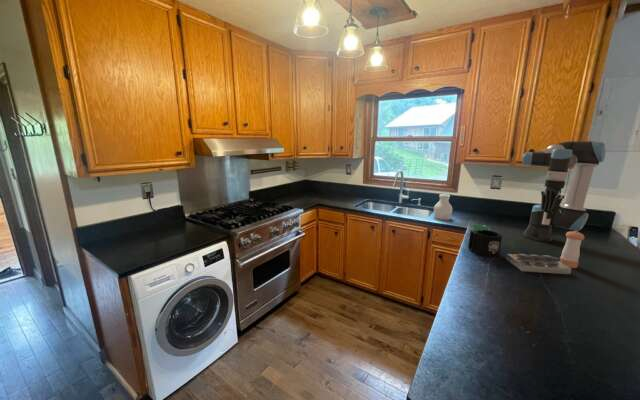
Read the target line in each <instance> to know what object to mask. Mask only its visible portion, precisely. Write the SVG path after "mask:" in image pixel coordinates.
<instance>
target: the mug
mask: <svg viewBox="0 0 640 400" xmlns="http://www.w3.org/2000/svg"><path fill="white" fill-rule="evenodd" d="M471 228H472V231H477V230H489V231H491V228H490V227H488V226H487V225H485V224H483V225H479V224H475V225H472V227H471Z"/></svg>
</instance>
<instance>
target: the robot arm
mask: <svg viewBox="0 0 640 400" xmlns="http://www.w3.org/2000/svg"><path fill="white" fill-rule="evenodd" d="M605 157H606V145H605V142H604V141H603V142H602V141H593V140H592V141H588V140H587V141H584V140H583V141H575V140H574V141H572V140H571V141H561V142H558V143H553V144H551V145H549V146H548V147H546V148H544V149H541V150H539V151H526V152H525V153H524V154H523V156H522V159H521V163H522V165H524V166H529V167H530V166H534V167H548V169H547V174H546V179H545V183H544V187H545V189H544V191H543V190H542V191H540V194H541V203H540V204H535V205H533V206H532V210H531V213H530V216H529V217H530V218H529V223H528V226H527V227H526V229H525V230H524V232H523V236H524V237H525V238H527V239H530V240H534V241H539V242H545V243H546V242H547V243H548V242H552V241H553V232H552V227H555V228H556V227H557V228H562V229H566V230H569V231H578V232H579V231H580V230H582V229H583V228H584V226H585V225H586V223H587V221H588V219H589V213H588V212H587V209H586V208H585V207H584V206H585V202H586V198H587V195H588V191H589V188H590V185H591V184H590V183H591V180H592V177H593V172H594V169H595V168H596V167H598V166H599V164H600V163H603V162H604V161H605ZM571 168H573V170H572V174H571V178H570V182H569V185H568V190H567V192H566V197H565V195H564V194H563V195H562V189H564V188H565V185H566V180H567V176H568V173H569V172H568V171H569V169H571ZM564 199H565V201H564V204H562V205H561V203H562V201H563V200H564ZM560 205H561V206H560Z"/></svg>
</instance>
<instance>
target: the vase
mask: <svg viewBox="0 0 640 400" xmlns="http://www.w3.org/2000/svg"><path fill="white" fill-rule="evenodd" d="M438 197H439V201H437V203H436V204H435V205H434V206H433V214H434V216H433V217H434V219H437V220H441V221H449V220H450V219H451V216H452V214H453V207H452V205H451V204H450V202H449V199H450V198H451V195H450V194H447V193H446V194H445V193H441V194H439V195H438Z"/></svg>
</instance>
